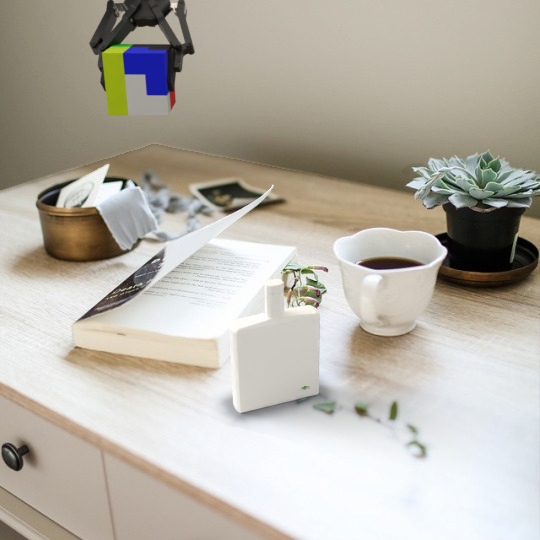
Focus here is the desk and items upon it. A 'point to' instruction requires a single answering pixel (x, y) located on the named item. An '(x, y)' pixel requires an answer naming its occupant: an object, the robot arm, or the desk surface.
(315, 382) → the perfume bottle
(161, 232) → the desk surface
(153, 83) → the puzzle toy
